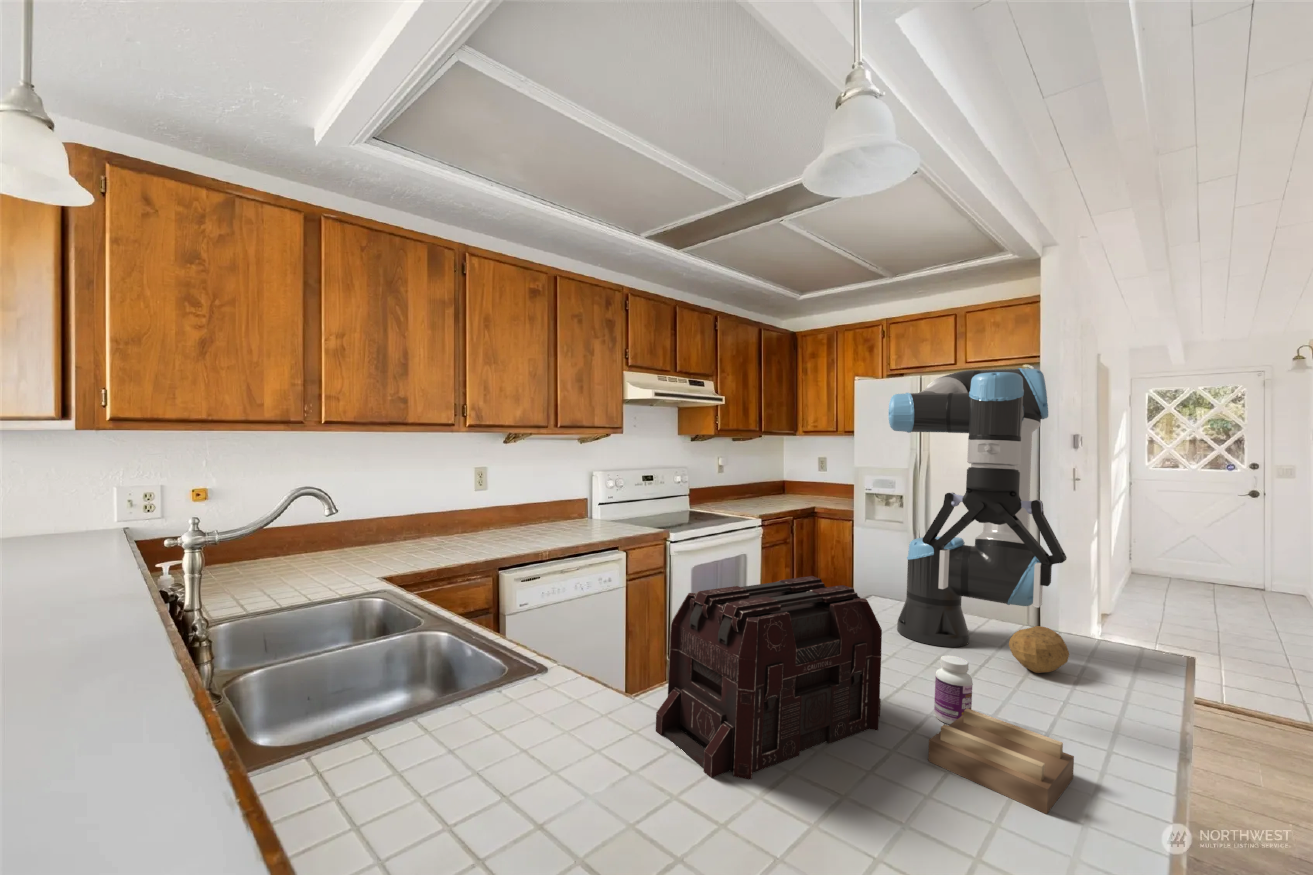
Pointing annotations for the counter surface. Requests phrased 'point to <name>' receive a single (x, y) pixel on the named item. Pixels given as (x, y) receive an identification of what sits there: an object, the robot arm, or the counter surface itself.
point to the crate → (770, 673)
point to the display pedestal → (1004, 759)
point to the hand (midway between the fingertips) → (987, 596)
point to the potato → (1039, 649)
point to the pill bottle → (952, 689)
